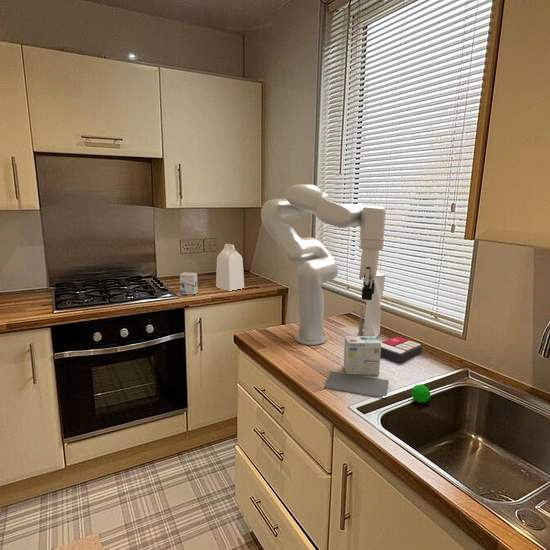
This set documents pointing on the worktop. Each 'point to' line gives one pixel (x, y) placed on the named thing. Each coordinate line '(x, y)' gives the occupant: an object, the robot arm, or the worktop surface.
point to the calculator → (399, 349)
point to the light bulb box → (362, 355)
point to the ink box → (188, 283)
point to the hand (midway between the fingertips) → (367, 296)
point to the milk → (229, 269)
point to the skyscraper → (373, 309)
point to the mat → (357, 384)
